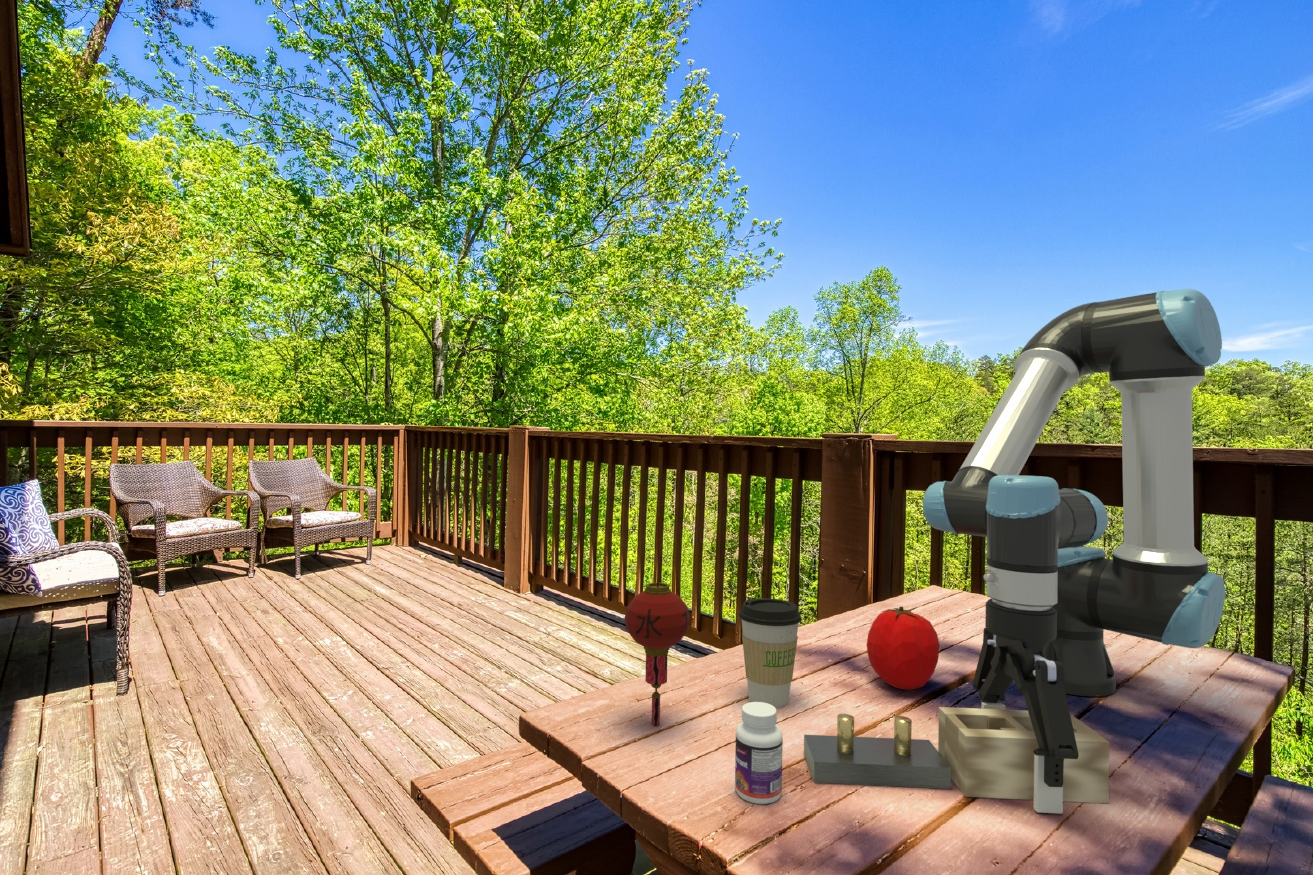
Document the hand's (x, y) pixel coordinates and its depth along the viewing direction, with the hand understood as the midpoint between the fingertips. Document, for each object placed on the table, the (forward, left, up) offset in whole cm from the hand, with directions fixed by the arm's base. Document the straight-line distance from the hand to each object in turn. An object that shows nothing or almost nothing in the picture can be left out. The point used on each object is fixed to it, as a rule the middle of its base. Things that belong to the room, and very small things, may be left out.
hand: (1017, 779), depth 76 cm
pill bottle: (+32, +5, 0) cm, 32 cm away
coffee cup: (+27, -22, 0) cm, 35 cm away
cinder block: (0, 0, 0) cm, 0 cm away
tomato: (+4, -30, 0) cm, 30 cm away
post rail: (+17, -1, 0) cm, 17 cm away
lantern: (+45, -11, 0) cm, 46 cm away
